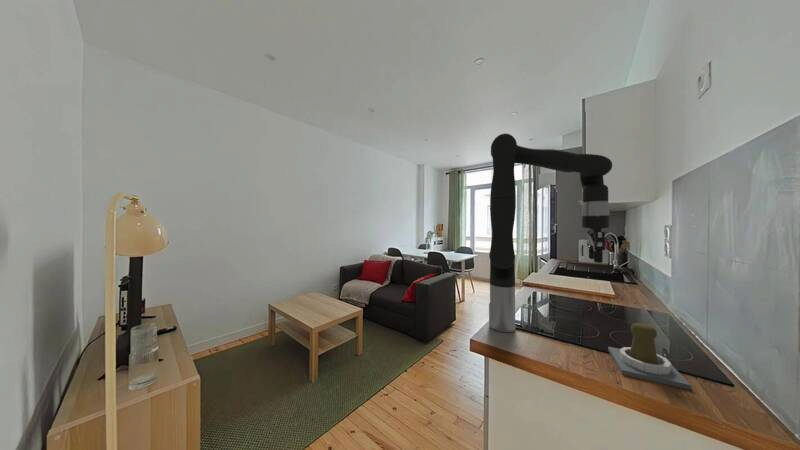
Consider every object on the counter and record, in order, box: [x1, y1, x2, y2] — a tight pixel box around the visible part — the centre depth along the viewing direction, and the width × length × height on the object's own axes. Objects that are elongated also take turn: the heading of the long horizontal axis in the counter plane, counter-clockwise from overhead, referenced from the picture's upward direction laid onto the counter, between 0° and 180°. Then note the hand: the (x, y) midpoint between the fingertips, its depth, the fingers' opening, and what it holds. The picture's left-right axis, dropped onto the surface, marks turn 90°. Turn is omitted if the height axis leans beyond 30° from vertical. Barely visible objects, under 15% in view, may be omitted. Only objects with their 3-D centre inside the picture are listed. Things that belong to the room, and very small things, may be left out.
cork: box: [630, 322, 658, 365], centre depth 69 cm, size 6×6×11 cm
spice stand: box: [607, 346, 692, 391], centre depth 69 cm, size 13×14×3 cm
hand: (595, 260), depth 85 cm, fingers open, 8 cm apart
